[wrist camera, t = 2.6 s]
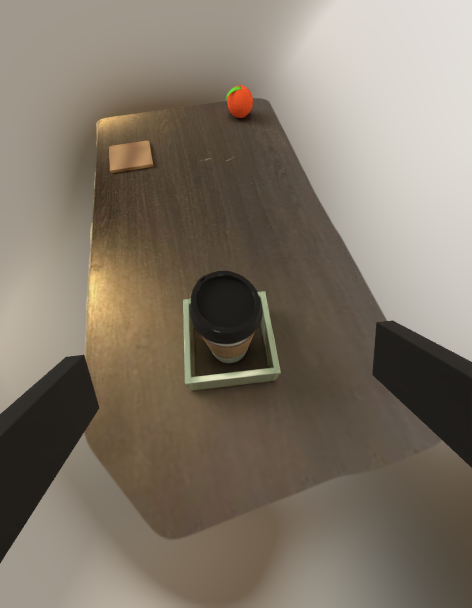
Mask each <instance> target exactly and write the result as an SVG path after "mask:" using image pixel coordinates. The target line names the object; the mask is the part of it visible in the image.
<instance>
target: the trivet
mask: <svg viewBox="0 0 472 608" xmlns="http://www.w3.org/2000/svg"><path fill="white" fill-rule="evenodd" d="M109 158H110V172H111V174H112V173H118V172H124V171H131V170H137V169H143V168H149V167H154V166H153V160H152V154H151V148H150V143H149V141H142V142H135V143H128V144H122V145H115V146H109Z"/></svg>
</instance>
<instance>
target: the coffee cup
mask: <svg viewBox="0 0 472 608" xmlns="http://www.w3.org/2000/svg"><path fill="white" fill-rule="evenodd" d="M262 313H263V307H262V302H261V299H260V297H259V295H258V292H257V290H256V289H255V287H254V286H253V285H252V284H251V283H250V282H249V281H248V280H247V279H246V278H244V277H243V276H241V275H239V274H237V273H234V272H230V271H217V272H213V273H210V274H208V275H205V276H203V277H202V278H200V279H199V281H198V282H197V284H196V285H195V287H194V289H193V291H192V294H191V304H190V315H191V320H192V323H193V325H194V327H195V329H196V330H197V332H198V333H199V334H200V335H201V336H202V338H203V339H204V341H205V342H206V344H207V346H208V347H209V349H210V350H211V352H212V353H213V355H214V356H215V358H216V359H218V360H219V361H221V362H224V363H234V362H237V361H239V360H241V359H242V358H243V357H244V355H245V354H246V352H247V350H248V347H249V345H250V342H251V340H252V338H253V335H254V333H255V331H256V329H257V328H258V326H259V324H260V322H261V318H262Z"/></svg>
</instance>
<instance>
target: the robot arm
mask: <svg viewBox="0 0 472 608" xmlns="http://www.w3.org/2000/svg"><path fill="white" fill-rule="evenodd" d="M372 375H373V376H374V377H375V378H376V379H377V380H379V381H380V382H381V383H382V384H383V385H384V386H385V387H386V388H387V389H388V390H389V391H390V392H391V393H392V394H394V395H395V396H396V397H397V398H398V399H399V400H400V401H401V402H402V403H403V404H404V405H405V406H406V407H407V408H409V409H410V410H411V411H412V412H413V413H414V414H415V415H416V416H417V417H418V418H419V419H420V420H421V421H422V422H423V423H425V424H426V425H427V426H428V427H429V428H430V429H431V430H432V431H433V432H434V433H435V434H436V435H437V436H438V437H440V438H441V439H442V440H443V441H444V442H445V443H446V444H447V445H448V446H449V447H450V448H451V449H452V450H453V451H455V452H456V453H457V454H458V455H459V456H460V457H461V458H462V459H463V460H464V461H465V462H466V463H468V465H469V466H471V467H472V362H471V361H469V360H467V359H465V358H463V357H461V356H459V355H457V354H455V353H454V352H452V351H450V350H448V349H446V348H444V347H442V346H440V345H438V344H436V343H434V342H433V341H431V340H429V339H427V338H425V337H423V336H421V335H419V334H417V333H415V332H413V331H412V330H410V329H408V328H406V327H404V326H402V325H400V324H398V323H396V322H394V321H384V322H377V324H376V336H375V349H374V362H373V374H372ZM98 409H99V405H98V402H97V398H96V395H95V391H94V388H93V384H92V381H91V377H90V374H89V370H88V366H87V363H86V359H85V356H84V355H79V356H71V357H65V358H64V359H63V360H62V361H61V362H60V363H59V364H57V365H56V366H55V367H54V368H53V369H52V370H50V371H49V372H48V373H47V374H46V375H45V376H44V377H43V378H41V379H40V380H39V381H38V382H37V383H36V384H34V385H33V386H32V387H31V388H30V389H29V390H27V391H26V392H25V393H24V394H23V395H22V396H21V397H19V398H18V399H17V400H16V401H15V402H14V403H13V404H11V405H10V406H9V407H8V408H7V409H6V410H5V411H3V412H2V413H1V414H0V563H1V561H2V560H3V558H4V557H5V555H6V553H7V552H8V550H9V549H10V547H11V545H12V544H13V542H14V541H15V539H16V538H17V536H18V535H19V533H20V532H21V530H22V528H23V527H24V525H25V524H26V522H27V520H28V519H29V517H30V516H31V514H32V513H33V511H34V510H35V508H36V506H37V505H38V503H39V502H40V500H41V499H42V497H43V495H44V494H45V492H46V491H47V489H48V488H49V486H50V484H51V483H52V481H53V480H54V478H55V477H56V475H57V474H58V472H59V470H60V469H61V467H62V466H63V464H64V463H65V461H66V459H67V458H68V456H69V455H70V453H71V452H72V450H73V449H74V447H75V445H76V444H77V442H78V441H79V439H80V438H81V436H82V434H83V433H84V431H85V430H86V428H87V427H88V425H89V424H90V422H91V420H92V419H93V417H94V416H95V414H96V413H97V411H98Z"/></svg>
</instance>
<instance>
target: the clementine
mask: <svg viewBox="0 0 472 608" xmlns="http://www.w3.org/2000/svg"><path fill="white" fill-rule="evenodd" d="M228 95H229V96H228ZM227 97H228V100H227V103H228V108H229V111H230V112H231V114H232V115H233V116H235V117H237V118H243V117H245V116H247V115H248V114H249V112H250V111H251V109H252V105H253V98H252V94H251V92H250V91H249V89H247V88H246V87H245V86H241V85H239V86H236V87H234V88H233V89H231V90H230V92H229V93H228V94H227ZM227 97H226V99H227Z"/></svg>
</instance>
